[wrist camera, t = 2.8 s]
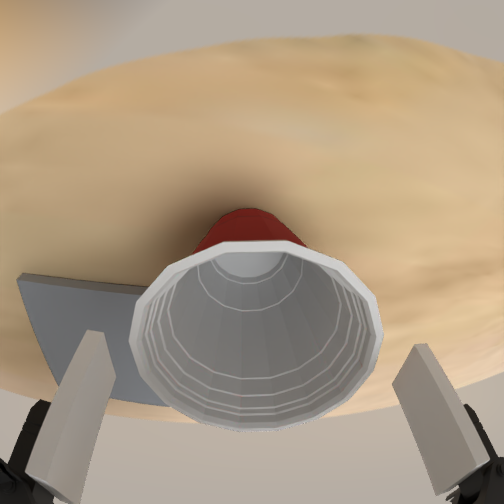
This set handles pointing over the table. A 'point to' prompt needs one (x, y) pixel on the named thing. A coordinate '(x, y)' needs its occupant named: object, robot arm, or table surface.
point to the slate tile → (86, 326)
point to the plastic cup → (255, 329)
